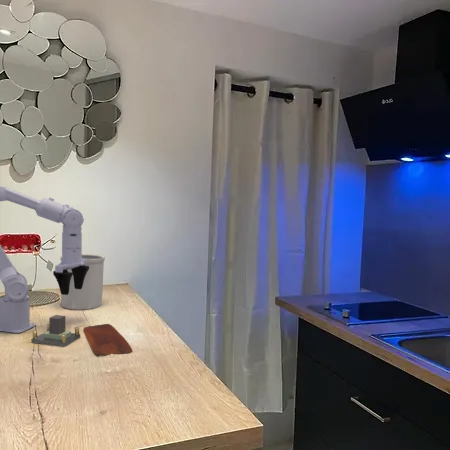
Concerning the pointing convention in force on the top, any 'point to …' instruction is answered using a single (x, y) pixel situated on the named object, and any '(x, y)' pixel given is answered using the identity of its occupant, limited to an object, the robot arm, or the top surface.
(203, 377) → the top surface
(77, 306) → the utensil holder
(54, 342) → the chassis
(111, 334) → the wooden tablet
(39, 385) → the top surface
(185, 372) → the top surface
